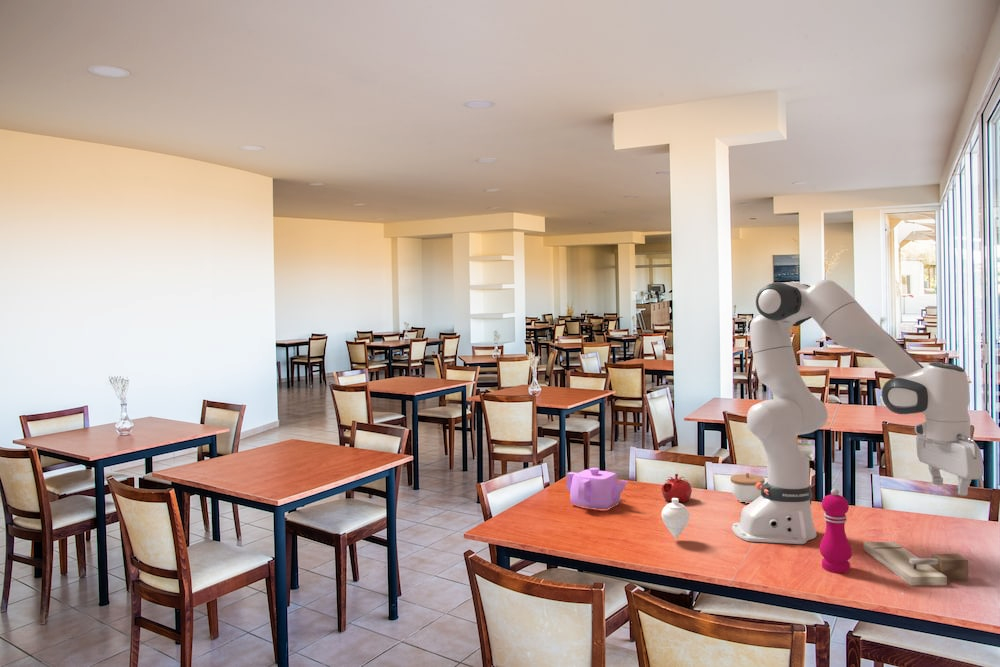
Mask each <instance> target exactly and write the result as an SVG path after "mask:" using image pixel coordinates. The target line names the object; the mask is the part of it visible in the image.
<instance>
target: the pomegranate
mask: <svg viewBox="0 0 1000 667" xmlns="http://www.w3.org/2000/svg"><path fill="white" fill-rule="evenodd" d="M674 477H675V478H673V477H672V476H669V478H668V479H666V480H665V482H664V484H663V485H662V486H661V493H662V497H663V498H664V499H665V501H667V502H669V501H671V502H670V503H672V498H678V499H679V501H678V502H684V503H687V502H688V501H689V500H690V498H691V496H692V493H693V492H692V491H693V490H692V486H691V484H690V483H689V479H685V477H684V476H679V473H674ZM682 478H683V479H682Z"/></svg>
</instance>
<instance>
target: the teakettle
mask: <svg viewBox="0 0 1000 667" xmlns="http://www.w3.org/2000/svg"><path fill="white" fill-rule="evenodd" d="M627 484H628V480H624V479H621V480H620V482H619V479H618V475H617V473H616V472H611V471H610V470H600V468H599V467H590V468H589V469H583V470H581V471H579V472H571V471H570V472H567V473H566V490H568V491H569V492H570V493H569V494H570V497H569V499H570V500H569V501H570V503H572V504H576V505H579V506H584V507H589V508H596V509H608V508H610V507H612V506H614V505H616V504H617V503H619V504H620V501H621V495H622V492H623V491H624V489H625V487H626V486H627ZM572 504H571V505H572ZM616 506H617V505H616Z"/></svg>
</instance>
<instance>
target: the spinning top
mask: <svg viewBox="0 0 1000 667" xmlns="http://www.w3.org/2000/svg"><path fill="white" fill-rule="evenodd" d="M678 501H679V499H678V498H672V502H669V503H666V504H665V506H664V507H663V508H662V510H661V519H662V521H663V523H664V525H665V527H666V528H667V529H668V531H669V533H670V534H671V535H672V536H673V537H674V538H675V539H674V541H677V540H678V537H679V536H680V535H681V534H682V533H683V531H684V530H685V529H686V527H687V525H688V523H689V521H690V516H691V515H690V512H689V509H688V508H687V507H686V506H685V505H684V504H683V503H678Z"/></svg>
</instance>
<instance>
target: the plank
mask: <svg viewBox="0 0 1000 667" xmlns="http://www.w3.org/2000/svg"><path fill="white" fill-rule="evenodd" d="M863 551H864V552H867V554H868V555H870V556H871V557H873V558H874V559H875V560H876V561H878V562H879V563H881V564H882V565H883V566H885V567H886V568H887V569H889V570H890V571H891V572H893V574H895V575H897V576H898V577H899V578H900V579H901V580H903V581H904V582H905V583H907V584H908V585H910V586H948V581H947V576H945V575H944V574H942V573H941V572H939V571H938V570H936V569H935V568H933V567H932V565H931V564H916V569H914V567H913V564H911V563H909V558H919V557H918V556H917V555H915V554H914V553H912V552H910V551H909V550H908V549H906V548H905V547H903V546H901V545H900V544H899V543H897V542H895V541H863Z"/></svg>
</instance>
